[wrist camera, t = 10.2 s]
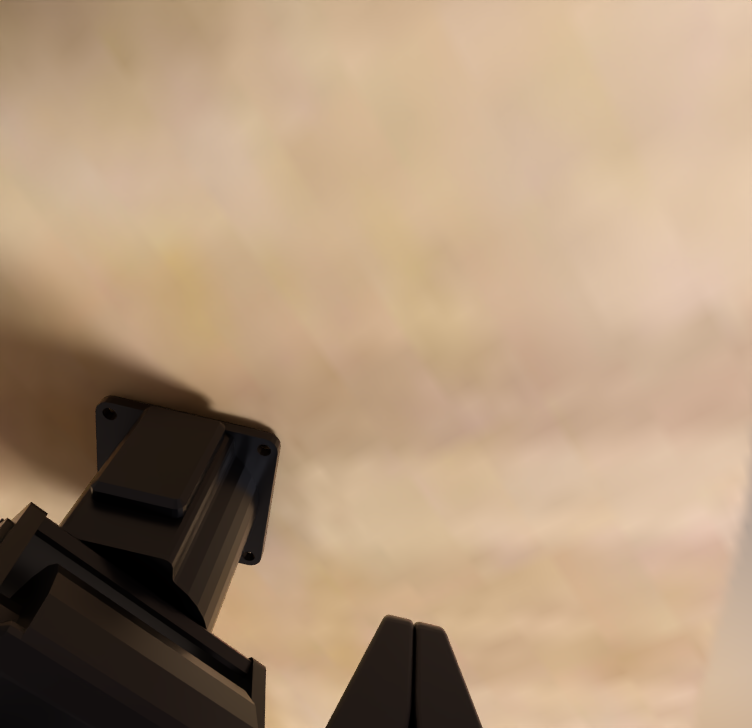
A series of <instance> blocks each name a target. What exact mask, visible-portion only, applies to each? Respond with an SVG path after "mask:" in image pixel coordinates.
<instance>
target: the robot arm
mask: <svg viewBox="0 0 752 728" xmlns="http://www.w3.org/2000/svg"><path fill="white" fill-rule="evenodd" d="M109 408H110V409H112V410H114V411H115V412H116V413H113V412H111V411H110V410H109ZM96 439H97V468H98V473H97V474H96V476H95V477H94V478H93V480H92V481H91V482H90V484H89V485H88V486H87V488H86V489H85V491H84V492H83V493H82V495H81V496H80V497H79V499H78V500H77V501H76V503H75V504H74V506H73V507H72V508H71V510H70V511H69V512H68V514H67V515H66V516H65V518H64V519H63V521H62V522H61V523H60V525H59V526H58V525H57V524H56V523H54V522H53V521H51V520H50V519H48V518H47V517H46V516H47V514H48V513H46V512H45V511H43V510H42V509H41V508H39V507H38V506H36V505H35V504H33V503H32V502H31V503H29V504H28V505H27V506H26V507H25V508H24V509H23V510H22V511H21V512H20V513H19V514H17V515H16V516H15V517H14V518H13V519H12V520H10V519H8V518H6V519H5V520H4V519H3V518H2V519H1V520H0V728H265V684H266V667H265V666H263V665H262V664H261V663H259V662H258V661H256V660H255V659H254V658H252V657H251V658H247V657H245V656H244V655H242V654H241V653H239V652H238V651H237V650H235V649H234V648H232V647H231V646H229V645H228V644H227V643H225V642H224V641H222V640H221V639H219V638H218V637H217V636H215V635H214V634H212V630H213V628H214V625H215V622H216V620H217V617H218V614H219V612H220V609H221V607H222V604H223V601H224V599H225V596H226V593H227V591H228V588H229V585H230V583H231V580H232V578H233V575H234V572H235V570H236V567H237V564H238V563H242V564H246V565H255V564H257V563H259V562H260V560H261V557H262V554H263V552H264V545H265V539H266V533H267V527H268V521H269V515H270V509H271V503H272V496H273V490H274V484H275V478H276V472H277V466H278V460H279V453H280V447H281V445H280V441H279V439H278V438H277V437H276V436H275V435H274V434H271V433H269V432H265V431H261V430H256V429H252V428H248V427H244V426H239V425H235V424H231V423H227V422H222V421H218V420H214V419H210V418H205V417H201V416H197V415H193V414H188V413H184V412H180V411H176V410H171V409H167V408H163V407H159V406H154V405H150V404H146V403H142V402H137V401H133V400H129V399H125V398H120V397H116V396H107V397H105V398H104V399H103V400H102V401H101V402H100V403H99V404H98V405H97V407H96ZM261 445H267V446H268V447H269V448H270V449H265V448H263V447H262V446H261ZM250 552H251V553H250ZM326 728H482V725H481V722H480V720H479V717H478V715H477V712H476V709H475V707H474V704H473V702H472V699H471V696H470V694H469V691H468V689H467V686H466V683H465V681H464V678H463V676H462V673H461V670H460V668H459V665H458V663H457V660H456V657H455V655H454V652H453V650H452V647H451V644H450V642H449V639H448V637H447V634H446V632H445V631H444V629H443V628H441V627H439V626H435V625H431V624H427V623H423V622H416V623H415V624H414V625H413V622H412V621H411V620H409V619H405V618H401V617H397V616H393V615H386V616H385V617H384V618H383V620H382V622H381V624H380V625H379V627H378V629H377V631H376V633H375V635H374V637H373V639H372V641H371V642H370V644H369V646H368V648H367V650H366V652H365V654H364V656H363V658H362V660H361V661H360V663H359V665H358V667H357V669H356V671H355V673H354V675H353V677H352V678H351V680H350V682H349V684H348V686H347V688H346V690H345V692H344V694H343V696H342V697H341V699H340V701H339V703H338V705H337V707H336V709H335V711H334V713H333V714H332V716H331V718H330V720H329V722H328V724H327V726H326Z"/></svg>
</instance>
